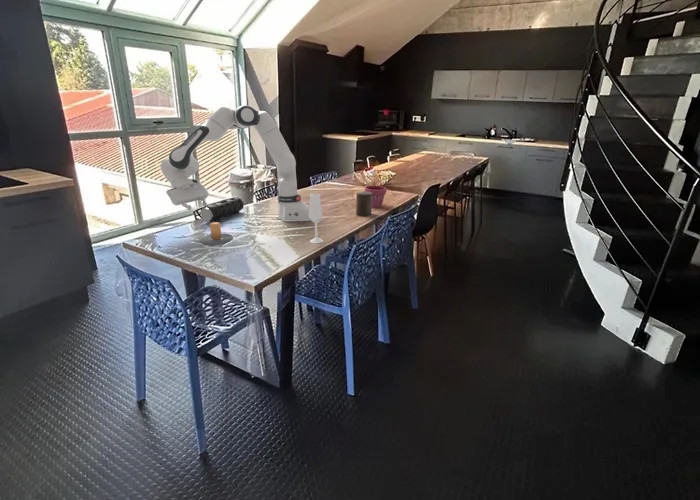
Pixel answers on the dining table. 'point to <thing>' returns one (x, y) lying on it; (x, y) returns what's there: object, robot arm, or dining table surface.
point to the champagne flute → (315, 214)
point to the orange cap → (215, 231)
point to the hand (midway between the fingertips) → (197, 207)
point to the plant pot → (376, 195)
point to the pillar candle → (363, 203)
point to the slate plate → (209, 240)
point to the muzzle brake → (222, 209)
